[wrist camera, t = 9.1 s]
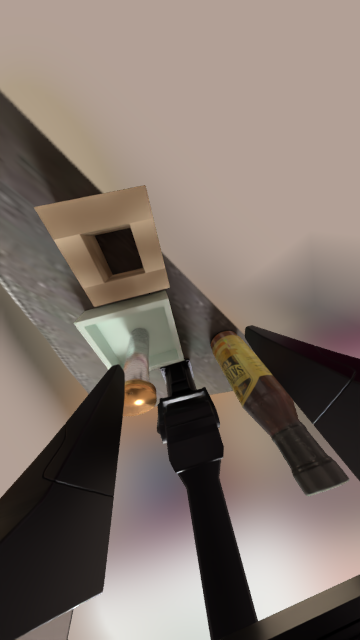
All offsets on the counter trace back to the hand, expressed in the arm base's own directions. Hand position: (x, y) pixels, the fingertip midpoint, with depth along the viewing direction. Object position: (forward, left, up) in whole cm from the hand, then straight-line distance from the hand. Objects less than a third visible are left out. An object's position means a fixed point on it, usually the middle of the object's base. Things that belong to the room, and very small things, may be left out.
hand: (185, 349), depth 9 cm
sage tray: (-6, +6, -13) cm, 16 cm away
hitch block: (+6, +4, -13) cm, 15 cm away
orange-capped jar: (-6, +6, -12) cm, 15 cm away
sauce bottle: (-14, -9, -13) cm, 21 cm away
